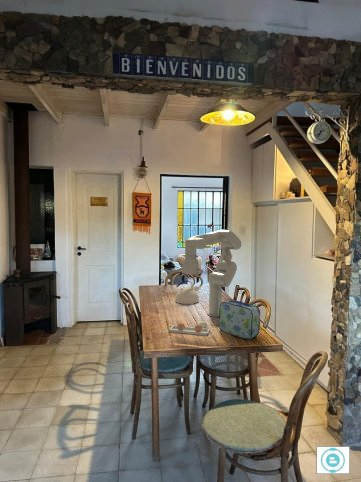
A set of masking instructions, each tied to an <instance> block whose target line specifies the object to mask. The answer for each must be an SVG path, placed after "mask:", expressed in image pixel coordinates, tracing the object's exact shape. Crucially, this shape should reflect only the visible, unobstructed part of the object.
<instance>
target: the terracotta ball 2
mask: <svg viewBox="0 0 361 482" xmlns="http://www.w3.org/2000/svg"><path fill="white" fill-rule="evenodd" d="M194 329H195V331H196V332H201V331H202V326H201V325H200V323H197V324H195V326H194Z"/></svg>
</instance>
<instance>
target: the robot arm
mask: <svg viewBox="0 0 361 482" xmlns="http://www.w3.org/2000/svg"><path fill="white" fill-rule="evenodd" d="M184 242H185V243H184V244H185V245H184V246H185V247H184V259H183V264H182V267H180V268H178V269H177V272H178V274H179V275H180V276H181V282H184V281H185V275H186V274H187V275H195V276H196V280H195V281H196V284H198V283H199V282H200V277H201V276H202V274H203V272H204V270H203V269H202V268H200V267H199V260H198V258H199V255H198V254H197V250H204V249H205V248H206V247H207V246H213V245H215V244H218V243H219V244H220V249H221V254H220V257H219V259H218V261H217V263H216V266H215V270H216V271H213V272H211V273H209V275H208V278H207V279H208V285H209V287H208V288H209V292H208V293H209V299H208V301H209V303H208V307H209V308H208V311H207V312H206V315H207V316H210V317H214V318H215V317H217V318H219V308H220V304H221V303H222V302H223V288H222V287H224V288H228V287H229V286H230V285H231V284H232V282H233V279H234V278H235V275H236V273H237V271H238V265H237V263H236V262H234V261H233V253H232V251H231V250H235V251H237V250H240V249H241V247H242V241H241V239H240V238H239V237H238V235H237V234H235V232H233V230H232V231H231V229H230V230H227V229H219V230H216V231H212V232H208V233H203V234H199V235H194V236H190V237H189V238H186V239H185V241H184Z"/></svg>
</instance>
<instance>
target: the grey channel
mask: <svg viewBox="0 0 361 482" xmlns="http://www.w3.org/2000/svg"><path fill="white" fill-rule="evenodd" d="M194 327H195V326H194ZM194 327H193V326H191V327H190V326H185V329H184V330H178V329H177V325H172V326H171V327H170V329H168V330H169V333H178V334H189V335H198V336H199V335H200V336H206V337H207V336H209V333H210V330H211V329H210V328H202V331H201V332H196V331H195V329H194Z"/></svg>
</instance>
